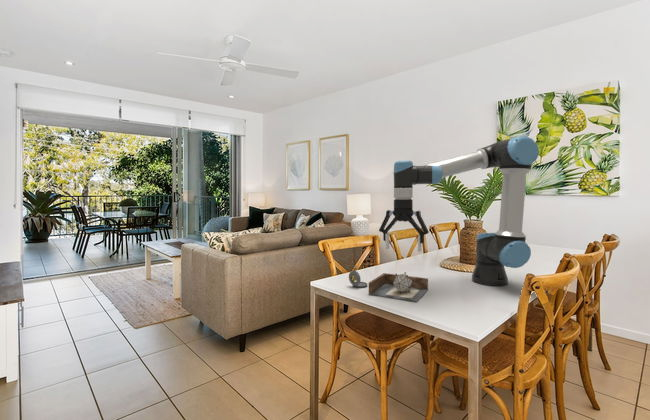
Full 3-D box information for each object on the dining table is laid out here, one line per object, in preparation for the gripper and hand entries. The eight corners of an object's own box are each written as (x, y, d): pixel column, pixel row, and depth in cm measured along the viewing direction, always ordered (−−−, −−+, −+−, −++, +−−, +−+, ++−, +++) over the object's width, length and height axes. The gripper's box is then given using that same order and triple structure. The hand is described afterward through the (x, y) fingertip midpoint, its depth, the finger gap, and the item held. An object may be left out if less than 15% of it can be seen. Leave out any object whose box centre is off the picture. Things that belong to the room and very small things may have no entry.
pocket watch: (368, 284, 155) (368, 262, 154) (365, 289, 147) (365, 267, 146) (350, 283, 157) (350, 262, 157) (347, 288, 149) (347, 266, 149)
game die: (407, 301, 139) (417, 286, 133) (387, 294, 140) (396, 279, 134) (408, 286, 147) (417, 271, 141) (389, 279, 147) (398, 263, 141)
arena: (427, 290, 145) (428, 278, 145) (416, 302, 130) (416, 289, 129) (383, 284, 155) (383, 273, 155) (368, 294, 140) (368, 282, 139)
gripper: (436, 198, 135) (436, 250, 136) (377, 198, 148) (378, 246, 149) (432, 199, 129) (431, 254, 130) (371, 199, 141) (371, 249, 143)
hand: (403, 250), depth 139 cm, fingers open, 13 cm apart
